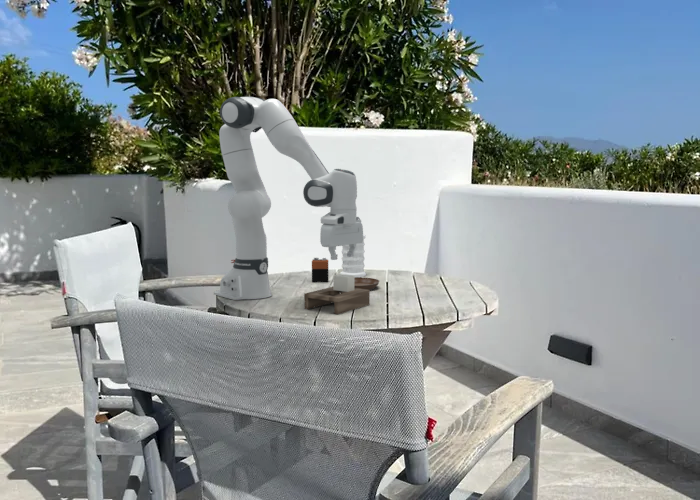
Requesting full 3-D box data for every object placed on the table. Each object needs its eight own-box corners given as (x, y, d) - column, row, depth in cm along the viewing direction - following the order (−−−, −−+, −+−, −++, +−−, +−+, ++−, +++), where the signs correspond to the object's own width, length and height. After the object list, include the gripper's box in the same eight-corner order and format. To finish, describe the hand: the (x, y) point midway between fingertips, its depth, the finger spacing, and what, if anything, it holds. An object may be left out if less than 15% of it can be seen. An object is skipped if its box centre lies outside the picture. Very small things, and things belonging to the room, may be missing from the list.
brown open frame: (304, 308, 205) (304, 293, 204) (336, 300, 219) (336, 285, 219) (338, 314, 197) (338, 298, 196) (369, 304, 211) (369, 289, 211)
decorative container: (371, 276, 272) (371, 235, 269) (348, 278, 266) (348, 236, 264) (357, 272, 281) (357, 233, 279) (335, 274, 276) (335, 234, 274)
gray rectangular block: (333, 300, 211) (332, 275, 210) (340, 298, 214) (340, 274, 213) (347, 302, 207) (347, 277, 206) (354, 300, 211) (354, 275, 210)
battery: (312, 280, 260) (312, 257, 259) (328, 280, 260) (328, 257, 259) (311, 282, 256) (311, 258, 254) (328, 282, 256) (328, 258, 254)
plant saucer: (341, 293, 232) (341, 285, 232) (329, 285, 249) (329, 278, 249) (385, 291, 237) (385, 283, 237) (371, 283, 254) (371, 276, 254)
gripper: (353, 215, 218) (352, 254, 219) (317, 218, 201) (316, 260, 203) (368, 216, 214) (367, 256, 216) (332, 219, 197) (331, 262, 199)
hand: (342, 258), depth 209 cm, fingers open, 8 cm apart
